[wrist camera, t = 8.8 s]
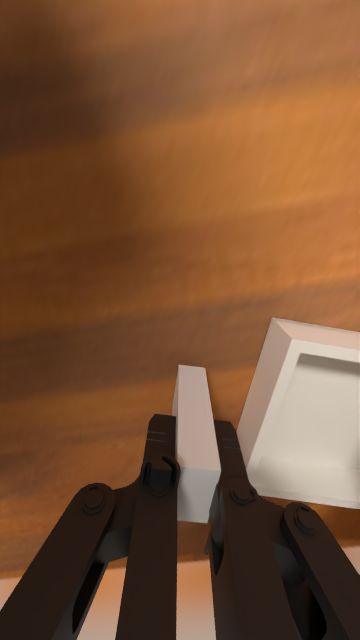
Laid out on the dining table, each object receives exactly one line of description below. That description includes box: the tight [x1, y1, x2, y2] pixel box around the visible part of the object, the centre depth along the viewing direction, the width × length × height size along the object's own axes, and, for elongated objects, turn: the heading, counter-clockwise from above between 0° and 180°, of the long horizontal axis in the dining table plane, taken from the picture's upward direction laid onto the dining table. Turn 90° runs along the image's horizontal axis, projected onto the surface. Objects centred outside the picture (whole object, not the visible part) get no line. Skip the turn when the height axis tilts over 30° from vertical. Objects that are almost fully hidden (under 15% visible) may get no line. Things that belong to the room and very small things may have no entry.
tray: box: [236, 317, 360, 509], centre depth 16 cm, size 12×10×3 cm
